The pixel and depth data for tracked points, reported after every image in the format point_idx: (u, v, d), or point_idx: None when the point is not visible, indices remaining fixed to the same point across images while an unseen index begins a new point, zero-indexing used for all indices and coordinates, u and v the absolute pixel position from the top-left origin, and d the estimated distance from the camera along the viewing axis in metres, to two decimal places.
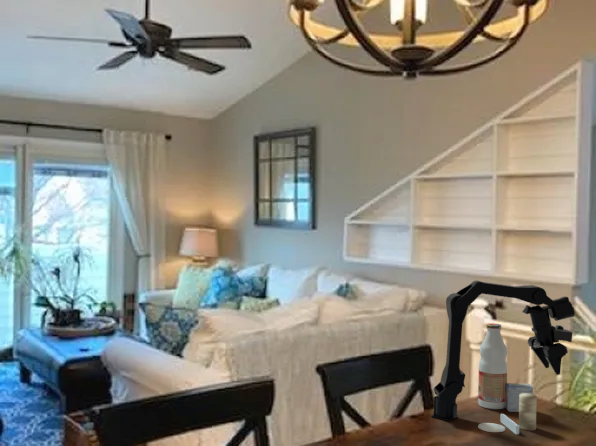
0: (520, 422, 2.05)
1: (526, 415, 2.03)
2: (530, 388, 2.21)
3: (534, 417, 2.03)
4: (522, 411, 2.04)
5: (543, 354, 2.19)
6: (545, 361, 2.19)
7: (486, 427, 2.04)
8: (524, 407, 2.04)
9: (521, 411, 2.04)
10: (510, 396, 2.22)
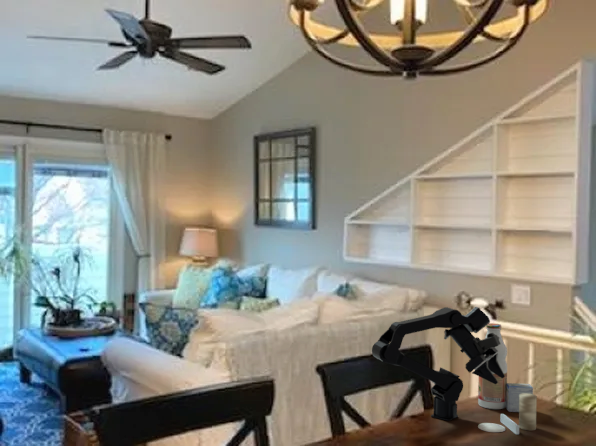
0: (520, 422, 2.05)
1: (526, 415, 2.03)
2: (530, 388, 2.21)
3: (534, 417, 2.03)
4: (522, 411, 2.04)
5: (493, 366, 2.15)
6: (498, 372, 2.14)
7: (486, 427, 2.04)
8: (524, 407, 2.04)
9: (521, 411, 2.04)
10: (510, 396, 2.22)
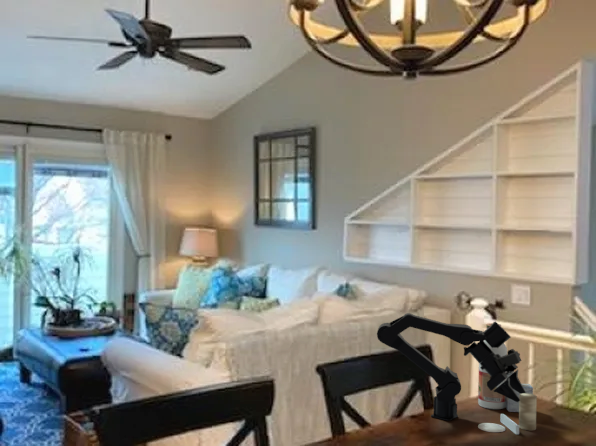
0: (520, 422, 2.05)
1: (526, 415, 2.03)
2: (530, 388, 2.21)
3: (534, 417, 2.03)
4: (522, 411, 2.04)
5: (514, 383, 2.12)
6: (519, 389, 2.11)
7: (486, 427, 2.04)
8: (524, 407, 2.04)
9: (521, 411, 2.04)
10: None
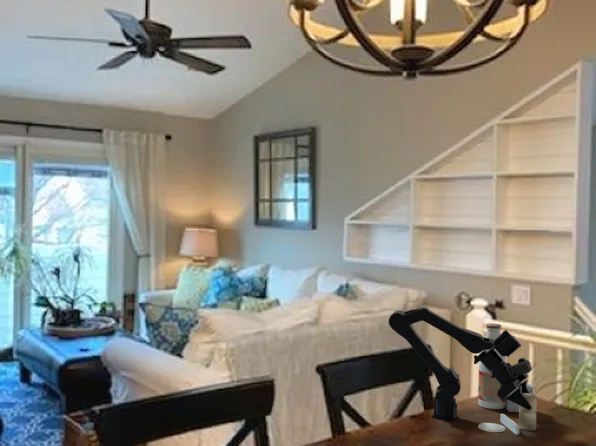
0: (520, 422, 2.05)
1: (526, 415, 2.03)
2: (530, 388, 2.21)
3: (534, 417, 2.03)
4: (522, 411, 2.04)
5: None
6: None
7: (486, 427, 2.04)
8: None
9: (521, 411, 2.04)
10: None
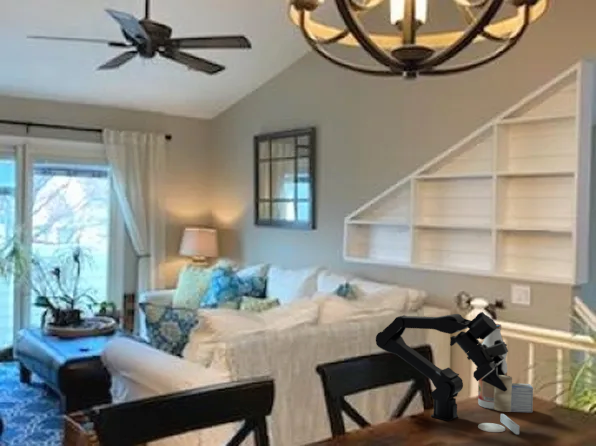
0: (495, 403, 2.04)
1: (501, 397, 2.03)
2: (530, 388, 2.21)
3: (509, 398, 2.03)
4: (497, 392, 2.04)
5: (498, 375, 2.09)
6: None
7: (486, 427, 2.04)
8: None
9: (496, 392, 2.04)
10: None
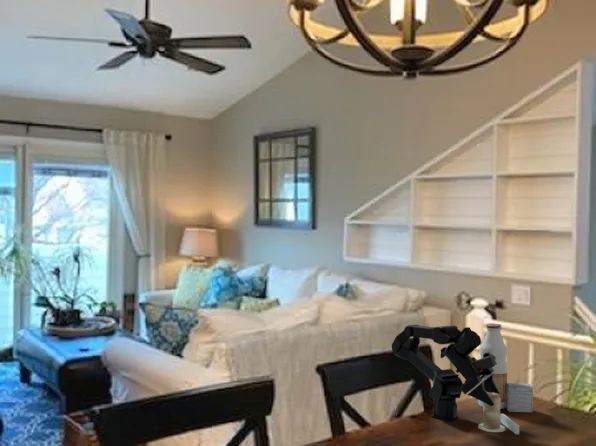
0: (484, 421, 2.04)
1: (490, 415, 2.02)
2: (530, 388, 2.21)
3: (498, 416, 2.03)
4: (486, 410, 2.03)
5: (490, 386, 2.10)
6: (495, 392, 2.08)
7: None
8: (487, 406, 2.03)
9: (485, 410, 2.03)
10: (510, 396, 2.22)
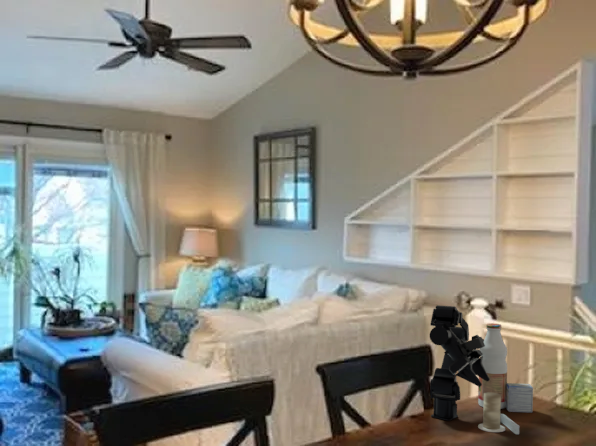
0: (484, 421, 2.04)
1: (490, 414, 2.02)
2: (530, 388, 2.21)
3: (498, 416, 2.03)
4: (486, 410, 2.03)
5: (478, 369, 2.11)
6: (483, 375, 2.10)
7: None
8: (487, 406, 2.03)
9: (485, 410, 2.03)
10: (510, 396, 2.22)
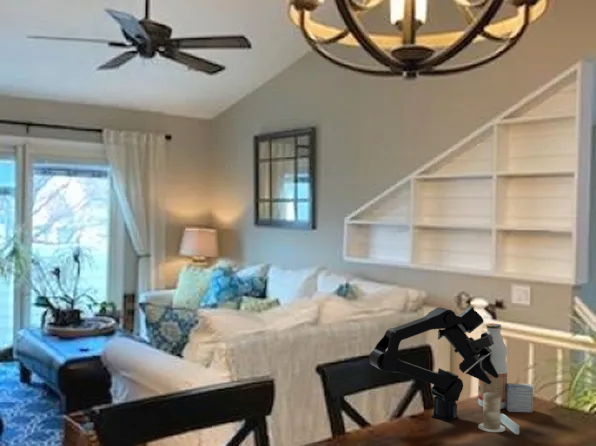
0: (484, 421, 2.04)
1: (490, 414, 2.02)
2: (530, 388, 2.21)
3: (498, 416, 2.03)
4: (486, 410, 2.03)
5: (487, 366, 2.15)
6: (492, 372, 2.14)
7: None
8: (487, 406, 2.03)
9: (485, 410, 2.04)
10: (510, 396, 2.22)
